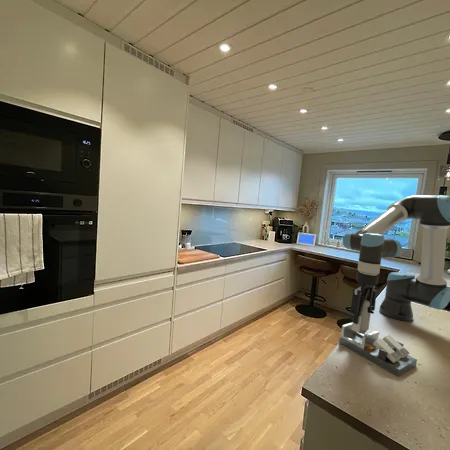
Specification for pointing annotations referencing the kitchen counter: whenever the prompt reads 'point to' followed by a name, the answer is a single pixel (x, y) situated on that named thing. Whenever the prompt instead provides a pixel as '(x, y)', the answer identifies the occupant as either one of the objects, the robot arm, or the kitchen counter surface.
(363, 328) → the salt shaker
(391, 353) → the rocker
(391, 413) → the kitchen counter surface
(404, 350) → the rocker
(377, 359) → the grey mechanical fixture
